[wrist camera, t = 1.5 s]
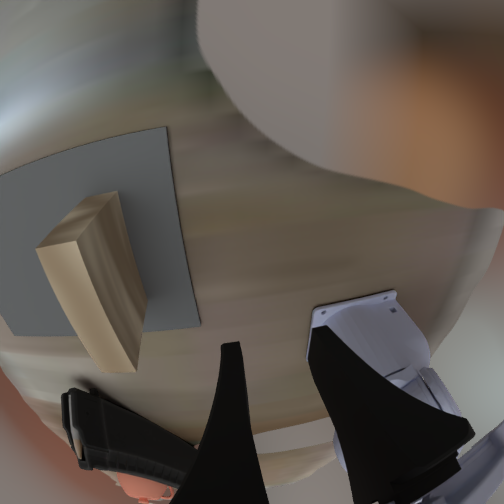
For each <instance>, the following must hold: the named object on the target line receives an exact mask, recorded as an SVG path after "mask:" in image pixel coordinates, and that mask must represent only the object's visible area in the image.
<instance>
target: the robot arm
mask: <svg viewBox="0 0 504 504" xmlns="http://www.w3.org/2000/svg"><path fill="white" fill-rule="evenodd" d="M396 295H397V292H396V291H395V290H391V291H387V292H383V293H379V294H375V295H371V296H367V297H362V298H358V299H354V300H349V301H345V302H340V303H336V304H331V305H326V306H321V307H317V308H315V309H314V310H313V312H312V320H311V327H310V334H309V341H308V348H307V354H306V360H307V362H308V363H309V366H310V370H311V373H312V376H313V379H314V382H315V384H316V386H317V389H318V391H319V393H320V395H321V398H322V400H323V402H324V404H325V407H326V409H327V411H328V413H329V415H330V418H331V420H332V422H333V425H334V427H335V433H334V438H333V444H334V449H335V453H336V455H337V458H338V460H339V462H340V464H341V465H342V467H343V468H344V469H345V471H346V472H347V473H348V476H349V481H350V486H351V491H352V497H353V502H354V504H372V503H375V502H377V501H378V502H379V504H485V503H486V502H487V501H488V500H489V499H490V497H491V496H492V495H493V493H494V492H495V491H496V490H497V488H498V487H499V486H500V484H501V483H502V481H503V480H504V420H503V421H502V422H501V423H500V424H499V425H498V426H497V427H496V428H494V429H493V430H492V431H490V432H489V433H488V434H487V435H485V436H484V437H483V438H482V439H480V440H479V441H478V442H477V443H476V444H475V445H474V446H472V449H470V450H469V451H468V452H467V453H465V454H464V455H463V456H462V457H460V458H459V459H458V460H457V457H458V456H459V454H460V452H461V450H462V448H463V446H464V445H465V444H466V443H467V442H468V441H470V440H471V439H472V438H473V437H474V436H475V432H474V430H473V429H472V427H471V425H470V424H469V422H468V420H467V419H466V418H463V417H461V412H460V410H459V408H458V406H457V404H456V403H455V401H454V399H453V398H452V396H451V394H450V393H449V391H448V390H447V388H446V387H445V385H444V384H443V382H442V381H441V379H440V378H439V376H438V375H437V373H436V372H435V371H434V369H433V368H428V367H429V364H430V350H429V346H428V343H427V340H426V338H425V336H424V335H423V333H422V332H421V331H420V329H419V328H418V327H417V325H416V324H415V323H414V322H413V320H412V319H411V318H410V317H409V315H408V314H407V313H406V312H405V310H404V309H403V308H402V307H401V306H400V304H399V303H398V302H397V301H396V300H395V298H396ZM322 311H323V312H322ZM422 377H423V378H424V380H423V378H422ZM425 382H426V383H425ZM428 387H429V388H428ZM169 504H269V501H268V498H267V494H266V490H265V486H264V482H263V478H262V474H261V470H260V465H259V461H258V457H257V453H256V449H255V444H254V440H253V435H252V431H251V424H250V415H249V405H248V395H247V387H246V379H245V371H244V363H243V356H242V351H241V347H240V342H239V341H238V342H231V343H223V344H222V345H221V361H220V370H219V377H218V382H217V387H216V393H215V397H214V401H213V405H212V408H211V412H210V416H209V419H208V422H207V425H206V428H205V431H204V434H203V437H202V440H201V442H200V445H199V447H198V450H197V452H196V455H195V457H194V459H193V461H192V463H191V466H190V468H189V470H188V472H187V473H186V475H185V477H184V479H183V481H182V483H181V485H180V487H179V489H178V490H177V492H176V494H175V495H174V497H173V498H172V500H171V502H170V503H169Z"/></svg>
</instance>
